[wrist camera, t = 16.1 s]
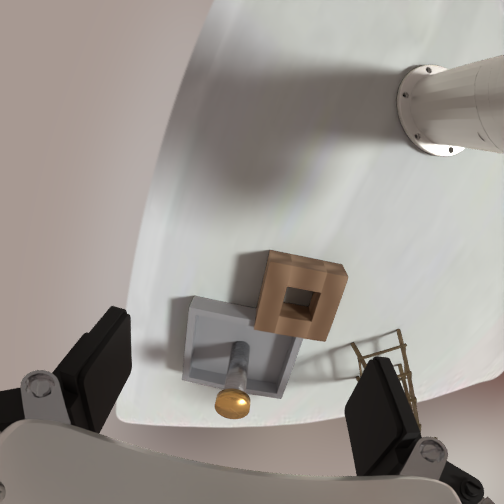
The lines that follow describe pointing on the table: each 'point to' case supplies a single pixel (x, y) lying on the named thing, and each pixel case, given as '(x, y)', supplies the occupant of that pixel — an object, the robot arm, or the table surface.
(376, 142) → the table surface
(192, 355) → the tray
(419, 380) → the table surface
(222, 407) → the pin
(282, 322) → the socket block
